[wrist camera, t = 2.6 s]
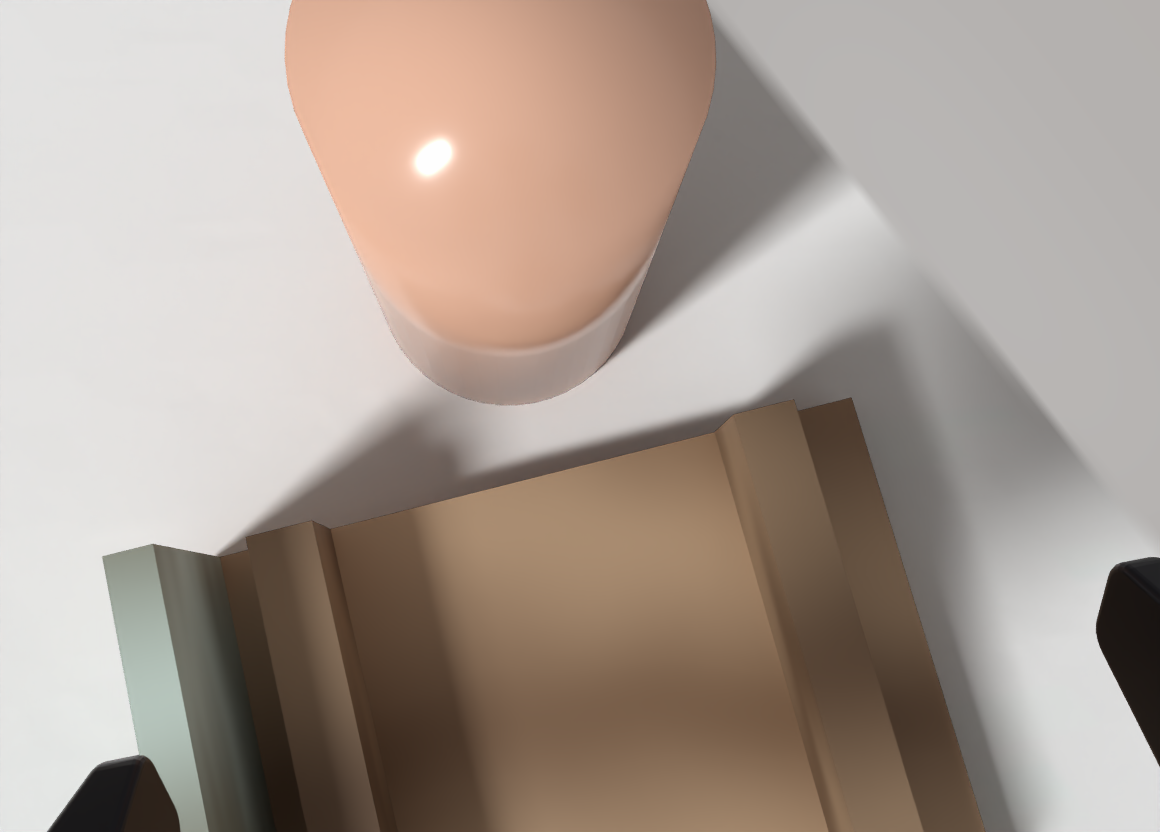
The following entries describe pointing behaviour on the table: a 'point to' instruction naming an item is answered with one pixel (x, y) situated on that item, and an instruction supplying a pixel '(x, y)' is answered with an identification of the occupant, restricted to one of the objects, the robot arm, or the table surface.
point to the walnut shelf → (560, 655)
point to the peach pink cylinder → (503, 169)
